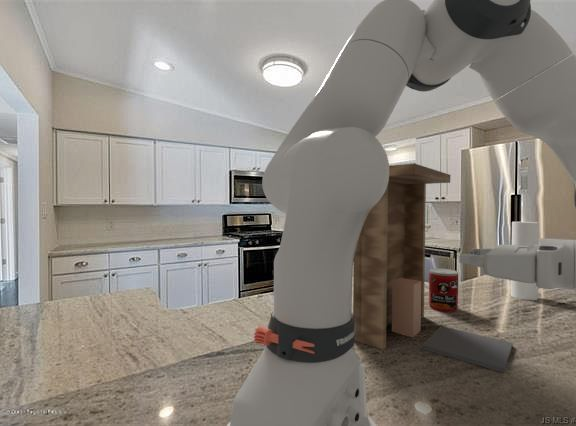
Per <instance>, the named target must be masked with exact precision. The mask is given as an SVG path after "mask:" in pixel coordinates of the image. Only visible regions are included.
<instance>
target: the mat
mask: <svg viewBox="0 0 576 426" xmlns="http://www.w3.org/2000/svg"><path fill="white" fill-rule="evenodd" d="M513 344H514V343H513V342H510V341H507V340H502V339H498V338H493V337H490V336H485V335H481V334H476V333H473V332H468V331H465V330H460V329H456V328H452V327H448V326H443V325H441V326H440V327H439V328H438V329H437V330H436V331H435V332H434V333H433V334H432V335H431V336H430V337H429V338H428V339H426V341H425V342H424V343H422V349H423V350H424V351H429V352H432V353H436V354H439V355H442V356H446V357H449V358H453V359H457V360H460V361H462V362H466V363H469V364H472V365H475V366H479V367H483V368H487V369H489V370H493V371H497V372H499V373H503V374H505V371H506V367H507V365H508V362H509V359H510V356H511V353H512V349H513V346H514V345H513Z"/></svg>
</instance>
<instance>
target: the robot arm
mask: <svg viewBox="0 0 576 426" xmlns="http://www.w3.org/2000/svg"><path fill="white" fill-rule="evenodd" d="M468 66H469V69H471V70H473V71H475V72H476V73H478V74H479V75H480V77H481V80H482V82H483V84H484V86H485V88H486V89H487V92H488V94H489V95H490V96H489V97H491V99H492V100H493V101H494V104H495V105H496V107H497V108H498V110H499V112H501V114H502V115H503V116H504V118H505V119H506V120H507V121H508V122H509V123H510V124H511V125H512V126H513V127H514V128H515V129H516V130H517V131H518V132H520V133H522V134H525V135H527V136H531V137H534V138H537V139H539V140H540V141H542V143H545V144H546V146H548V148H550V149H551V150H552V152H553V153H554V155H555V156H556V158H557V159H558V161H559V163H561V165H562V166H563V168H564V170H565V171H566V173H567V174H568V176H569V178H570V179H571V180H572V182H573V187H574V194H573V201H574V202H573V203H574V206H575V208H576V55H575V54H573V51H572V49H571V48H570V47H569V45H568V44H567V42H566V41H565V40H564V38H563V37H562V36H561V34H559V32H558V31H557V30H556V29H555V28H554V27H553V26H552V25H551V24H550V23H549V22H548V21H547V20H546V19H545V18H543V17H542V16H541V14H539V13H538V12H536V11H535V10H533V9H532V7H531V0H433V1H432V3H430V4H429V6H428V8H427V9H426V10H425V9H421V8H420V7H419V6H418V5H417V4H416V3H415V2H414V1H412V0H382V1H380V2H379V3H377V5H375V6H374V7H373V8H372V9H371V10H370V11H369V12H368V13H367V14H366V16H365V17H364V18H363V19H362V20H361V21H360V22H359V24H358V25H357V26H356V28H355V30H353V31H352V34H351V35H350V37H348V40H347V41H346V42H345V45H344V46H343V48H342V49H341V51H340V53H339V54H338V56H337V58H336V60H335V62H334V64H333V65H332V67H331V69H330V71H329V72H328V73H327V75H326V77H325V79H324V81H323V82H322V85H321V86H320V87H319V90H318V91H317V93H316V94H315V96H313V98H312V100H310V102H309V104H308V105H307V106H306V108H305V109H304V111H303V112H302V113H301V114H300V116H299V118H298V119H297V120H296V122H295V123H294V125H293V126H292V127H291V129H290V131H289V132H288V134H287V135H286V137H285V138H284V140H283V141H282V142H281V144H280V146H279V147H278V148H277V150H276V151H275V153H274V155H273V156H272V158H271V159H270V161H269V163H268V164H267V165H266V167H265V170H264V172H263V175H262V183H261V185H262V190H263V194H264V195H265V198H266V200H267V201H268V202H269V203H270V204H271V205H272V206H273V207H275V208H276V210H279V211H280V212H282V213H283V214H285V220H284V225H283V231H282V235H281V240H280V245H279V248H278V250H277V252H276V253H275V256H274V259H273V311H272V312H271V314H270V317H269V322H268V324H267V328H265V327H263V326H258V327H256V328H255V332H254V334H253V335H254V336H253V340H254V341H255V343H257V344H263V345H265V347H264V349H263V350H262V352H261V353H260V356H259V357H258V359H257V360H256V361H255V364H254V366H253V367H252V369H251V371H250V372H249V374H248V375H247V377H246V379H245V380H244V383H243V384H242V385H241V387H240V389H239V390H238V392H237V394H236V396H235V397H234V399H233V403H232V405H231V406H232V407H231V412H230V420H229V422H228V423H227V424H226V426H378V425H377V424H376V422H375V421H374V420H373V419H372V417H370V416H369V415H368V408H367V407H368V406H367V405H368V403H367V388H366V371H365V366H364V365H363V363H362V361H361V360H360V359H359V357H358V355H357V353H356V351H355V348H354V346H355V332H356V327H355V320H354V316H353V302H352V301H353V298H352V297H353V275H354V256H355V251H356V247H357V243H358V239H359V236H360V233H361V230H362V227H363V224H364V222H365V219H366V217H367V215H368V213H369V212H370V210H371V209H372V208H373V207H374V206H375V205H376V203H377V202H378V201H379V200H380V199H381V198H382V196H383V194H384V192H385V190H386V188H387V185H388V181H389V173H390V171H389V166H390V162H389V158H388V155H387V153H386V150H385V148H384V146H383V145H382V144H381V142H380V141H379V139H378V138H377V136H378V135H379V133H381V132H382V130H384V128H385V127H386V125H387V122H388V121H389V120H390V117H391V115H392V113H393V112H394V109H395V107H396V105H397V104H398V102H399V100H400V98H401V96H402V94H403V92H404V91H405V88H406V87H407V88H409V89H411V90H415V91H418V92H431V91H433V90H436V89H438V88H439V87H441V86H443V85H445V84H447V83H448V82H449V81H450V80H451V79H452V78H453V77H454V76H456V75H457V74H459V73H460V72H462V71H463V70H464V69H466V68H467V67H468ZM458 260H459V264H461V265H462V264H463V265H470V266H474V267H477V268H482V272H483V274H484V275H486V276H489V277H493V278H498V279H502V280H509V281H511V280H512V281H518V282H524V283H536V286H537V287H538V289H543V290H553V289H563V290H568V291H569V290H570V291H576V239H564V238H544V237H539V245H533V244H529V245H528V246H521V245H512V244H498V245H496V246H495V247H493V248H489V247H488V248H473V247H472V248H471V249H469V253H461V254H460V255H459V257H458Z"/></svg>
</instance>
